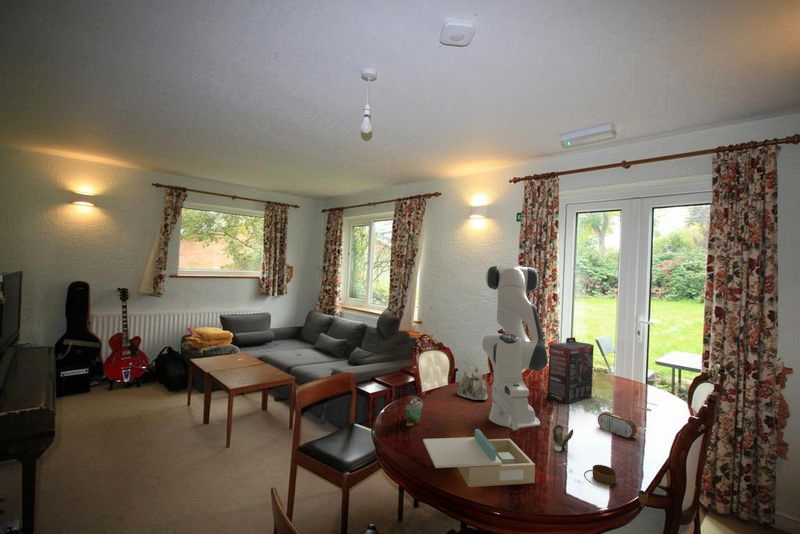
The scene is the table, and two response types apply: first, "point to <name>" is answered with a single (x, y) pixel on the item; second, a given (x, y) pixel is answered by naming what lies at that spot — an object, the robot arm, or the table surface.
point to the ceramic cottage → (473, 386)
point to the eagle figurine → (560, 438)
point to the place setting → (612, 480)
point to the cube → (506, 458)
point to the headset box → (570, 371)
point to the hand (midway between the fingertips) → (507, 423)
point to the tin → (617, 424)
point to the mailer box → (501, 468)
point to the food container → (414, 411)
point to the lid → (462, 451)
